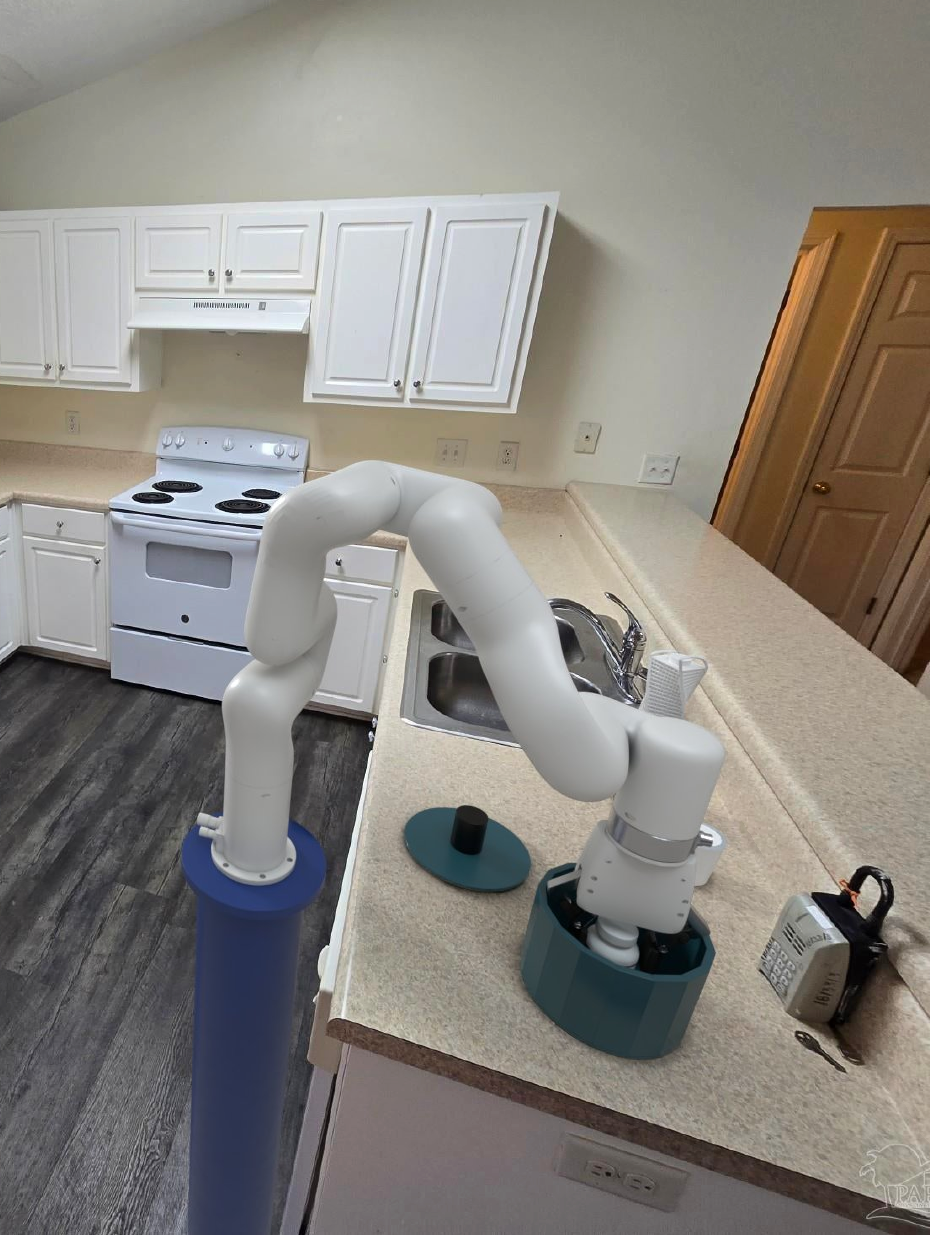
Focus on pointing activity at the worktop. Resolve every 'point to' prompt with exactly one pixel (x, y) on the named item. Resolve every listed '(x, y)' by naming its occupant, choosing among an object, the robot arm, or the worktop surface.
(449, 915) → the worktop surface
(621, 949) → the pill bottle
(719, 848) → the white cylinder
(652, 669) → the skyscraper
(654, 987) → the pot
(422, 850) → the lid
